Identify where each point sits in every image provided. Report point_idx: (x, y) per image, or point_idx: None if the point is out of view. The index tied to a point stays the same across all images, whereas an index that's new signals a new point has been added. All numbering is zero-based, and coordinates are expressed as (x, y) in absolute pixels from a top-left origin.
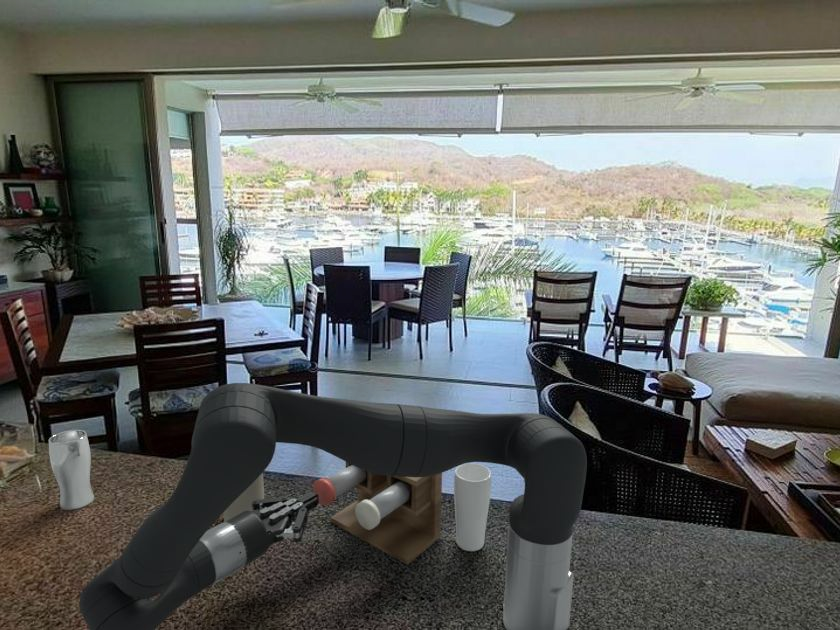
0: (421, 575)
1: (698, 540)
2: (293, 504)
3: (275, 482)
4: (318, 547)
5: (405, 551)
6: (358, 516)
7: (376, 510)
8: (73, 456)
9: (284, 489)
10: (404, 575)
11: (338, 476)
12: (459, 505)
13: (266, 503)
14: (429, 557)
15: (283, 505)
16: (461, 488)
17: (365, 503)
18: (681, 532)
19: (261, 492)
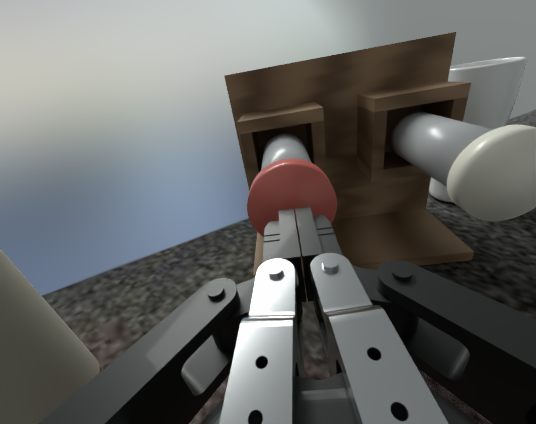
0: (518, 259)
1: (531, 118)
2: (296, 286)
3: (79, 286)
4: (303, 346)
5: (442, 243)
6: (474, 197)
7: None
8: None
9: (108, 287)
10: (508, 278)
11: (291, 153)
12: (483, 126)
13: (133, 404)
14: (462, 232)
15: (293, 332)
16: (500, 85)
17: (532, 129)
18: (513, 120)
19: (53, 326)
